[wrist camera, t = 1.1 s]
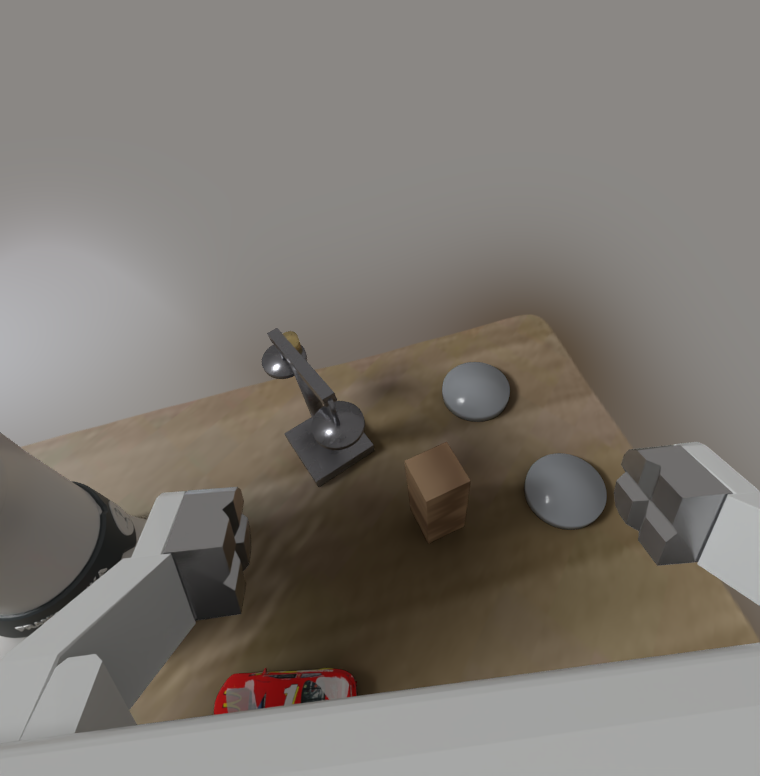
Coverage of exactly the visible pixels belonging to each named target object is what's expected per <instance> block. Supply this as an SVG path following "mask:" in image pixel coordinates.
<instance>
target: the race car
mask: <svg viewBox="0 0 760 776" xmlns="http://www.w3.org/2000/svg"><path fill="white" fill-rule="evenodd" d="M266 671H267V669H266V668H265V669H264V671H263V672H259V673H239V674H233V675H231V676H230V677H229V678H228V679H227V680H226V682H225V683H224V685H223V686H222V688H221V689H220V691H219V693H218V695H217V698H216V701H215V706H214V715H217V714H224V713H232V712H239V711H247V710H255V709H262V708H270V707H277V706H285V705H292V704H300V703H307V702H315V701H323V700H330V699H338V698H346V697H353V696H357V688H356V687H357V681H355V679H354V677H353V675H352V674H350V673H349V672H347V671H344V670H341V669H333V668H322V669H315V670H297V671H277V672H266Z"/></svg>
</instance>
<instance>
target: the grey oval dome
mask: <svg viewBox="0 0 760 776" xmlns="http://www.w3.org/2000/svg"><path fill="white" fill-rule="evenodd" d="M524 492H525V497H526V500H527V502H528V505H529V506H530V508H531V509H532V511H533V512H534V513H535V514H536V515H537V516H538V517H539V518H540V519H541V520H543V521H544V522H546V523H547V524H549V525H551V526H554V527H557V528H560V529H566V530H575V529H581V528H584V527H586V526H588V525H590V524H591V523H593V522H594V521H595V520H596V519H597V518H598V516H599V515H600V514H601V512H602V511H603V509H604V507H605V504H606V499H607V493H606V488H605V484H604V482H603V480H602V478H601V476H600V475H599V473H598V472H597V471H596V470H595V469H594V468H593V467H592V466H591V465H590V464H589V463H587V462H586V461H584V460H582V459H580V458H578V457H576V456H573V455H569V454H550V455H547V456H544V457H542V458H540V459H539V460H537V461H536V462H535V463H534V464H533V465H532V466H531V468H530V469H529V471H528V474H527V476H526V479H525V484H524Z"/></svg>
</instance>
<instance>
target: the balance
mask: <svg viewBox="0 0 760 776" xmlns="http://www.w3.org/2000/svg"><path fill="white" fill-rule="evenodd" d="M267 334H268V336H269V338H270V340H271V342H272V343H273V344H274V345H272V346H271V347H269V349H267V350H266V352H265V353H264V355H263V358H262V366H263V368H264V370H265V372H266V373H267V374H268V375H269V376H271V377H273V378H276V379H286V378H290V377H293V376H295V377H296V380H297V382H298V384H299V387H300V389H301V392H302V394H303V397H304V399H305V402H306V404H307V406H308V409H309V411H310V414H311V416H312V417H311V418H309V419H308V420H306V421H304V422H303V423H301V424H300V425H298V426H296V427H295V428H293V429H291V430H290V431H288V432H286V433H285V436H286V438H287V439H288V441H289V443H290V444H291V446H292V447H293V449H294V450H295V452H296V453H297V455H298V456H299V458H300V459H301V461H302V463H303V464H304V466H305V467H306V469H307V470H308V472H309V473H310V475H311V476H312V478H313V479H314V481H315V483H316V484H317V486H318V487H320V486H321V485H323V484H324V483H326V482H327V481H329V480H330V479H332V478H334V477H335V476H337V475H338V474H340V473H341V472H343V471H344V470H346V469H347V468H349V467H350V466H352V465H354V464H355V463H357V462H358V461H360V460H361V459H363V458H364V457H366V456H367V455H369V454H370V453H372V452H373V451H375V450H374V445H373V444H372V442H371V441H370V440H369V439H368V437H367V436H366V435H365V433H364V429H365V421H364V417H363V414H362V412H361V411H360V409H359V408H358V407H357V406H355V405H354V404H352V403H349V402H345V401H337V398H336V396H335V394H334V392H333V391H332V390H331V389H330V387H329V386H328V385H327V384H326V383H325V382H324V381H323V379H322V378H321V377H320V376H319V375H318V374H317V373H316V371H315V370H314V369H313V368H312V367H311V366H310V365H309V364H308V362H307V355H306V352H305V350H304V348H303V346H302V345H301V344H300V342H299V339H298V336H297V334H296V333H295V332H291V331H289V332H285V333H283V334H282V333H281V332H280V331H279V329H277V328H276V329H274V330H272V331H271V332H269V333H267ZM323 405H324V406H323Z"/></svg>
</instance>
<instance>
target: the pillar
mask: <svg viewBox="0 0 760 776" xmlns="http://www.w3.org/2000/svg"><path fill="white" fill-rule="evenodd" d="M404 462H405V470H406V478H407V486H408V494H409V502H410V509H411V511H412V513H413V515H414V516H415V518H416V520H417V522H418V524H419V526H420V528H421V530H422V532H423V534H424V536H425V538H426V540H427V542H428V544H429V543H431V542H433V541H435V540H437V539H439V538H441V537H443V536H445V535H447V534H449V533H451V532H453V531H455V530H457V529H459V528H462V527H464V525H465V518H466V511H467V504H468V496H469V489H470V482H471V481H470V479H469V477H468V476H467V474H466V472H465V471H464V469H463V468H462V466H461V464H460V463H459V461H458V459H457V458H456V456H455V454H454V453H453V451H452V450H451V448H450V446H449V445H448V443H447V442H445V443H443V444H441V445H438V446H436V447H434V448H432V449H430V450H427V451H425V452H423V453H421V454H419V455H416V456H414V457H412V458H410V459H408V460H405V461H404Z"/></svg>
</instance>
